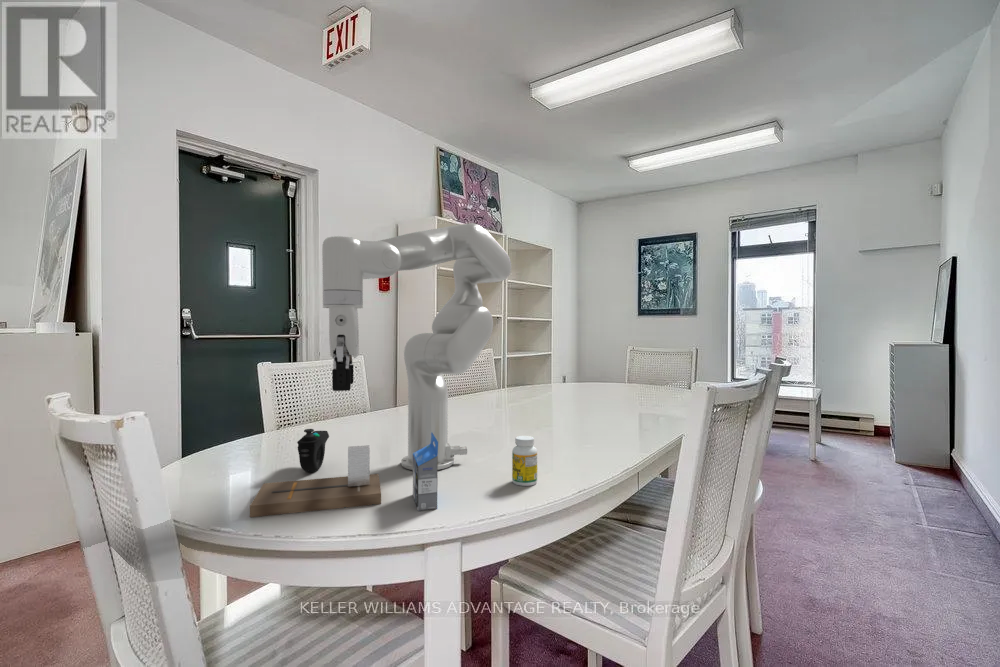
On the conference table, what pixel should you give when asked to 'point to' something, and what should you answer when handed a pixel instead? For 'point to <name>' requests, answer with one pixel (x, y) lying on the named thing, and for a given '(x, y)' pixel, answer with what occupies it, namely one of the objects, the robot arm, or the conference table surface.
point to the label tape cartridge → (426, 476)
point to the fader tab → (358, 465)
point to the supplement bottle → (524, 461)
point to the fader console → (313, 495)
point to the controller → (312, 449)
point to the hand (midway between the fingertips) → (343, 387)
